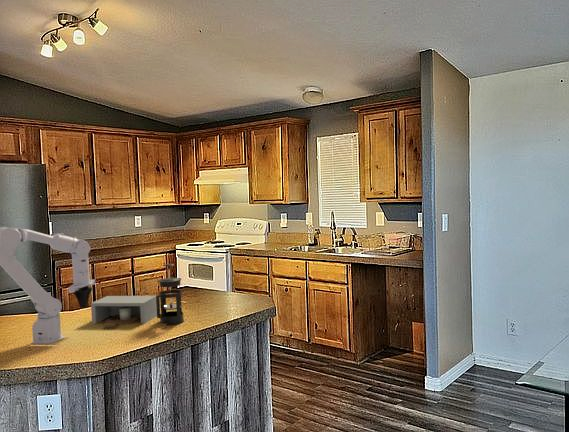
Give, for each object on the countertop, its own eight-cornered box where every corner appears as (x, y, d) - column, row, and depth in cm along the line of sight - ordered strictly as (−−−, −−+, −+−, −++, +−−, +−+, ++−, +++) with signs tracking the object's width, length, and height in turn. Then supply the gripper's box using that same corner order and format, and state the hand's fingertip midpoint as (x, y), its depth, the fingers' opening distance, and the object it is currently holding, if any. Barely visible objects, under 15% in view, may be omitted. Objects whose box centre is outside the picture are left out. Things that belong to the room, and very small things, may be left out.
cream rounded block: (128, 320, 207) (127, 309, 207) (117, 320, 208) (117, 309, 207) (133, 317, 211) (132, 306, 211) (122, 317, 212) (122, 306, 212)
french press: (175, 317, 212) (172, 261, 210) (190, 320, 206) (187, 263, 204) (151, 324, 202) (148, 265, 201) (166, 327, 197) (163, 267, 195)
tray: (123, 330, 195) (122, 323, 195) (95, 330, 197) (95, 323, 197) (142, 319, 212) (141, 313, 212) (116, 319, 214) (116, 313, 214)
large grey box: (145, 325, 201) (143, 303, 201) (92, 325, 205) (90, 303, 204) (158, 316, 214) (157, 295, 214) (108, 316, 218) (107, 296, 217)
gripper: (79, 274, 186) (82, 312, 186) (101, 268, 200) (103, 302, 201) (62, 275, 187) (64, 312, 188) (84, 268, 201) (86, 302, 202)
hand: (83, 307), depth 194 cm, fingers closed
